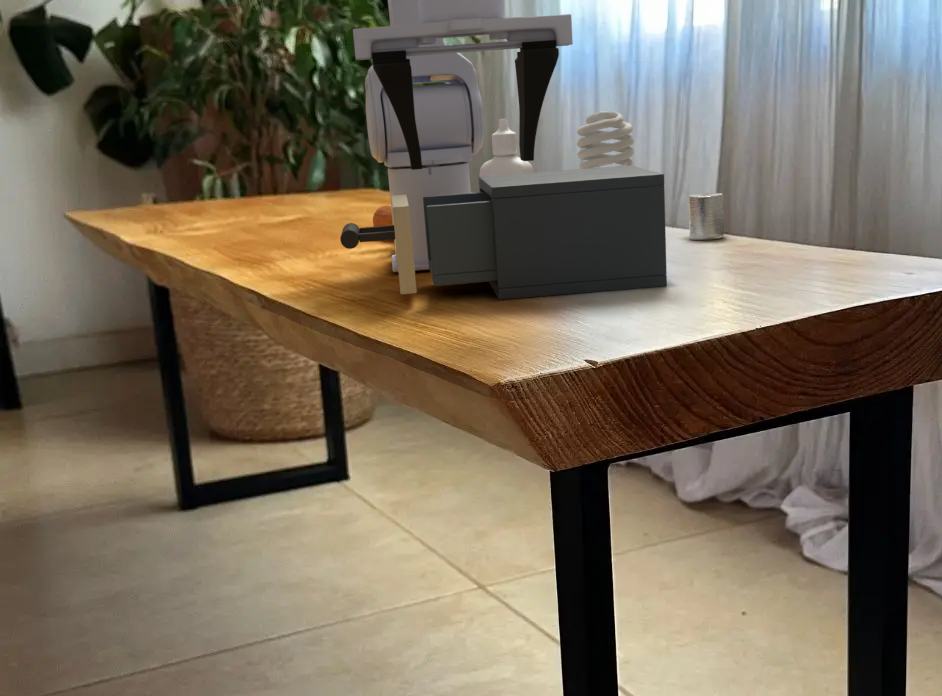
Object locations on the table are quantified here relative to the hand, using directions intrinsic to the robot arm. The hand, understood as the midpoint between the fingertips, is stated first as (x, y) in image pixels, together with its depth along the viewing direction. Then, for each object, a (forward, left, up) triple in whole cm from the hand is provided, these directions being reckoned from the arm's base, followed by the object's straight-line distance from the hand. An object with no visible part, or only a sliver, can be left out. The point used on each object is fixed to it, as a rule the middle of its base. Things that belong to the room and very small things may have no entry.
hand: (472, 164), depth 85 cm
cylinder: (-29, +24, -10) cm, 39 cm away
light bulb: (-37, +16, -10) cm, 42 cm away
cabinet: (-9, +8, -10) cm, 16 cm away
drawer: (-9, -2, -9) cm, 13 cm away
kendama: (-44, -4, -10) cm, 45 cm away
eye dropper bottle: (-37, +6, -10) cm, 39 cm away
